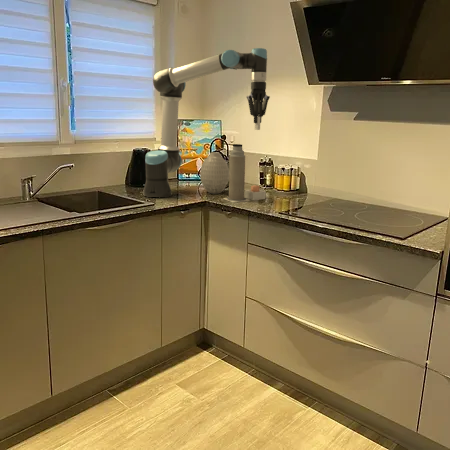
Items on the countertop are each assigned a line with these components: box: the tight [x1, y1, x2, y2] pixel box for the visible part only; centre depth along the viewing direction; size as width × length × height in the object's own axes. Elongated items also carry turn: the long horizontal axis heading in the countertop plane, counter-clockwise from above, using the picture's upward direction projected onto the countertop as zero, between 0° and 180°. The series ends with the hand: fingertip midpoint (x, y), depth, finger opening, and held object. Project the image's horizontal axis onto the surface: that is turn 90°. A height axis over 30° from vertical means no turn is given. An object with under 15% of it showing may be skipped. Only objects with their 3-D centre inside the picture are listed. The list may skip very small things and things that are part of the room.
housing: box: [244, 189, 267, 201], centre depth 247 cm, size 8×8×4 cm
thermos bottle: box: [228, 143, 246, 200], centre depth 239 cm, size 8×8×28 cm
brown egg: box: [250, 184, 261, 192], centre depth 246 cm, size 4×4×4 cm
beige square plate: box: [223, 197, 251, 203], centre depth 243 cm, size 10×10×1 cm
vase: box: [199, 151, 229, 195], centre depth 259 cm, size 16×16×22 cm
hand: (257, 129), depth 238 cm, fingers closed
